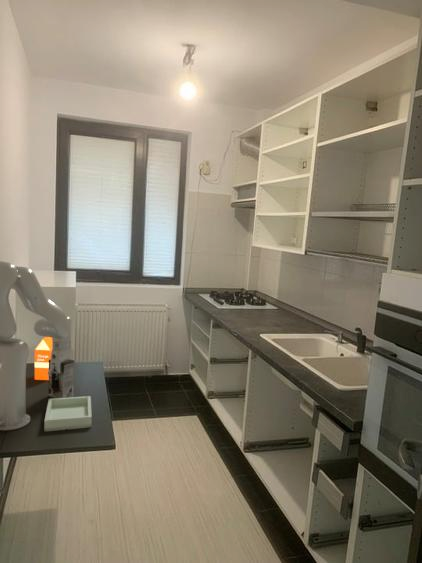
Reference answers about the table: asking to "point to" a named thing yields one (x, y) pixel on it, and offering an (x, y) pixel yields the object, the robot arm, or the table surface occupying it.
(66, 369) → the coffee box
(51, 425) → the tray
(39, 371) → the orange juice
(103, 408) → the table surface
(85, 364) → the table surface
